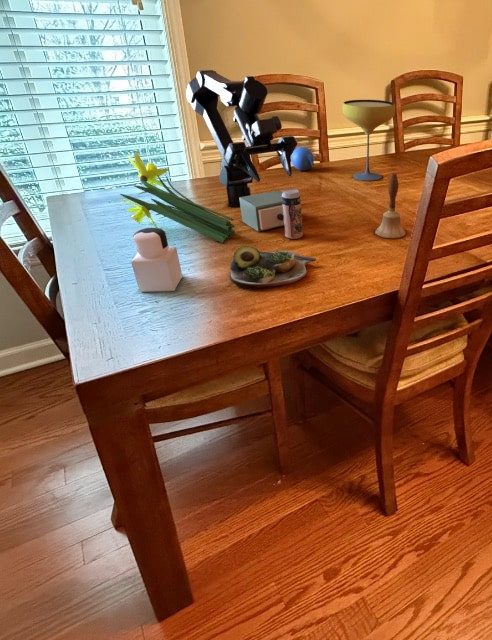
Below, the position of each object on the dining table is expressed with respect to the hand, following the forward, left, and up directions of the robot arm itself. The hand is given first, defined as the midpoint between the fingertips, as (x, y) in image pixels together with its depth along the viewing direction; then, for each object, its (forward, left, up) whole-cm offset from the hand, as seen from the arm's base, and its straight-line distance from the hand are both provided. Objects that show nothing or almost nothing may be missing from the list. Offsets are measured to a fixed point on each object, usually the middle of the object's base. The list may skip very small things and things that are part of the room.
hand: (275, 178), depth 121 cm
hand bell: (+30, -8, -14) cm, 34 cm away
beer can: (+4, -7, -14) cm, 16 cm away
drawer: (-1, +3, -13) cm, 13 cm away
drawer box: (-3, +5, -13) cm, 15 cm away
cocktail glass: (+33, +48, -14) cm, 60 cm away
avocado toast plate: (-3, -28, -14) cm, 31 cm away
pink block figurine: (-25, -31, -14) cm, 42 cm away
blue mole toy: (+11, +62, -14) cm, 64 cm away
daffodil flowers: (-25, +1, -14) cm, 29 cm away
